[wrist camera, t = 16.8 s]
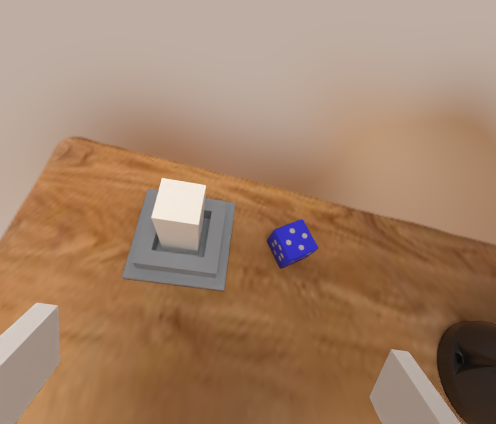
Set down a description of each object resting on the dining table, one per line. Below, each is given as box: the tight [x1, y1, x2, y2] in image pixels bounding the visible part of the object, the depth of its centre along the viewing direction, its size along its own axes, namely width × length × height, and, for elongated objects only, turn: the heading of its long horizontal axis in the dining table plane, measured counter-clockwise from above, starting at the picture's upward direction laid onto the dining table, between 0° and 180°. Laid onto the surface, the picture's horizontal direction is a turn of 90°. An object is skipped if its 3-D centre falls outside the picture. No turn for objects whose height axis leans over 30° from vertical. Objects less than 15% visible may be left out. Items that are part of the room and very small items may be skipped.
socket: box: [122, 189, 235, 291], centre depth 40 cm, size 14×14×4 cm
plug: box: [151, 178, 206, 256], centre depth 36 cm, size 5×5×12 cm
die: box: [267, 219, 318, 268], centre depth 42 cm, size 5×5×5 cm
